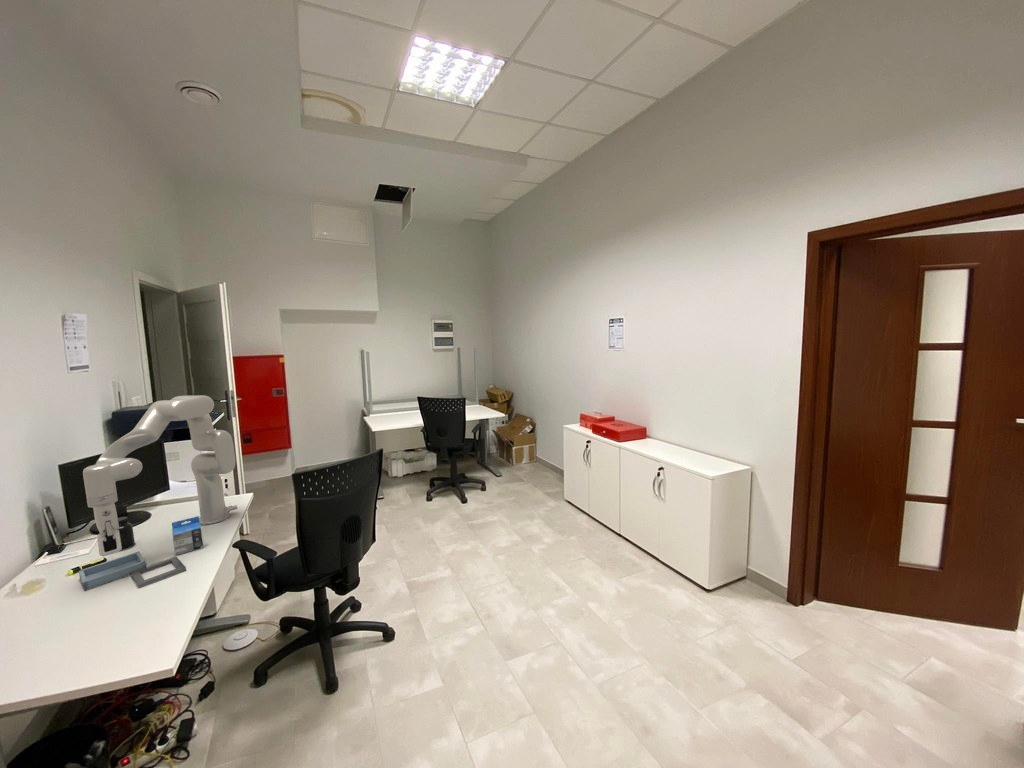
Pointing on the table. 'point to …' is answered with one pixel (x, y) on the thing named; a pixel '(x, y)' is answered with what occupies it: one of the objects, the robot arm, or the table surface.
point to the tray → (111, 570)
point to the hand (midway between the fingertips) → (109, 548)
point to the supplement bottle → (126, 533)
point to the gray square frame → (141, 582)
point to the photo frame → (65, 556)
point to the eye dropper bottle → (101, 547)
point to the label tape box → (187, 535)
